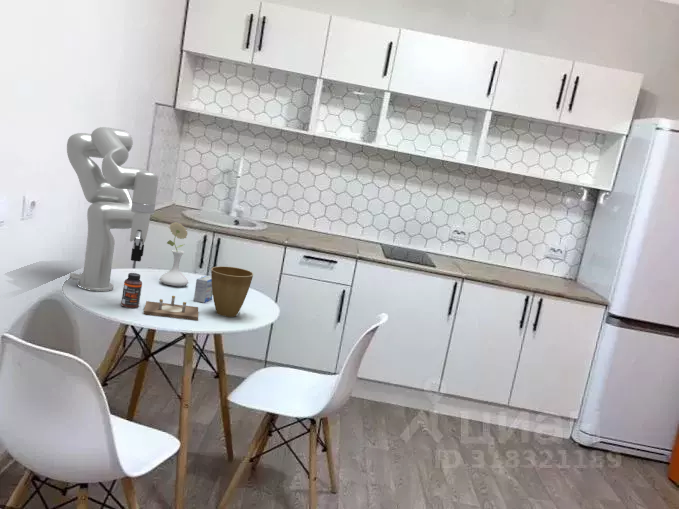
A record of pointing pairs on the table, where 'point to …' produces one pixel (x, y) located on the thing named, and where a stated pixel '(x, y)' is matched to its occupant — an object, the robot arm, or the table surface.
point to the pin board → (171, 310)
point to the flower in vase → (175, 258)
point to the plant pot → (229, 289)
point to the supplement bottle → (131, 291)
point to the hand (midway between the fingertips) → (136, 258)
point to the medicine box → (203, 289)
